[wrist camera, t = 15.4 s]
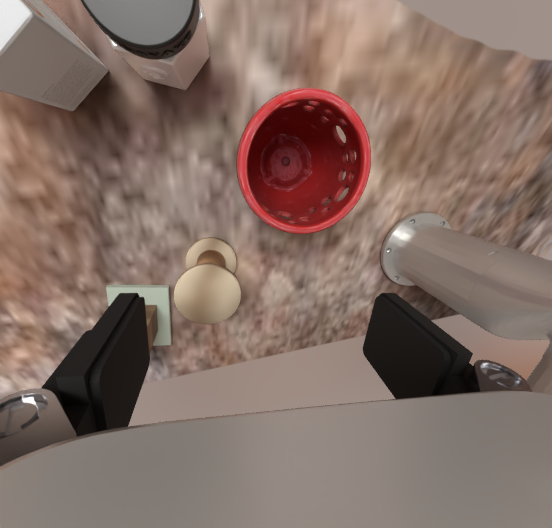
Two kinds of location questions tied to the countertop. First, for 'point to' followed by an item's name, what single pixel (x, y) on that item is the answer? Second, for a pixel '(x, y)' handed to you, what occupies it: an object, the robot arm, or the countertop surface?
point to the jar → (156, 36)
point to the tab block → (151, 324)
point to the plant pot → (303, 160)
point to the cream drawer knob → (208, 283)
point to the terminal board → (152, 297)
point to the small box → (44, 56)
